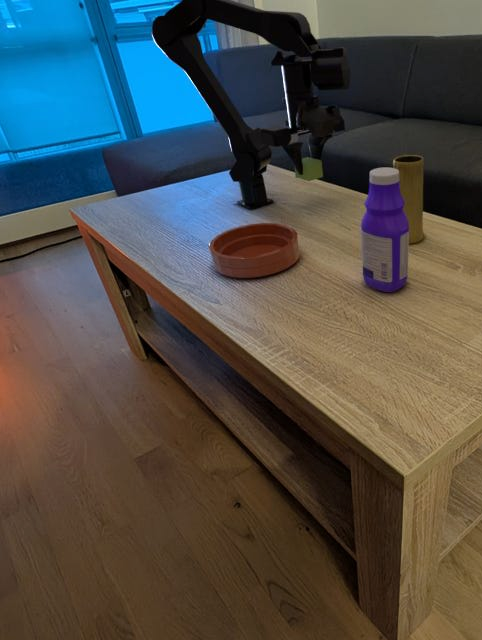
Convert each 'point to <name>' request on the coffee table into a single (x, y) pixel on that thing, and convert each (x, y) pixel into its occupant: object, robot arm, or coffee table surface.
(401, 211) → the bottle
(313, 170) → the sponge
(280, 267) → the bowl
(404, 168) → the vase
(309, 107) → the robot arm
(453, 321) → the coffee table surface
